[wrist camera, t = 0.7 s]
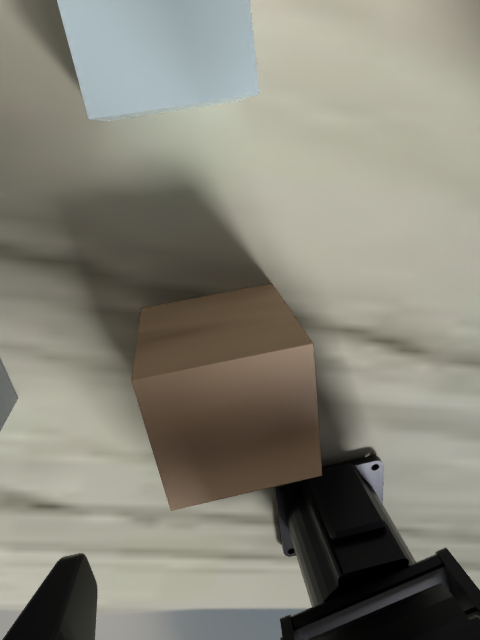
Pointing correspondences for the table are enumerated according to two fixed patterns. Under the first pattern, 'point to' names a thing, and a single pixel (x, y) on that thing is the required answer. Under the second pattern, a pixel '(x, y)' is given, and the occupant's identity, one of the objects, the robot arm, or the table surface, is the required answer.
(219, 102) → the pale blue carton
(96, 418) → the table surface
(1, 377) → the charcoal tote
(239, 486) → the walnut block
